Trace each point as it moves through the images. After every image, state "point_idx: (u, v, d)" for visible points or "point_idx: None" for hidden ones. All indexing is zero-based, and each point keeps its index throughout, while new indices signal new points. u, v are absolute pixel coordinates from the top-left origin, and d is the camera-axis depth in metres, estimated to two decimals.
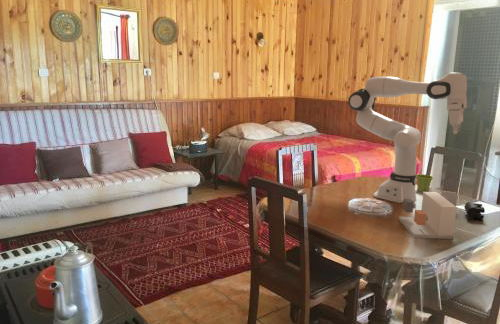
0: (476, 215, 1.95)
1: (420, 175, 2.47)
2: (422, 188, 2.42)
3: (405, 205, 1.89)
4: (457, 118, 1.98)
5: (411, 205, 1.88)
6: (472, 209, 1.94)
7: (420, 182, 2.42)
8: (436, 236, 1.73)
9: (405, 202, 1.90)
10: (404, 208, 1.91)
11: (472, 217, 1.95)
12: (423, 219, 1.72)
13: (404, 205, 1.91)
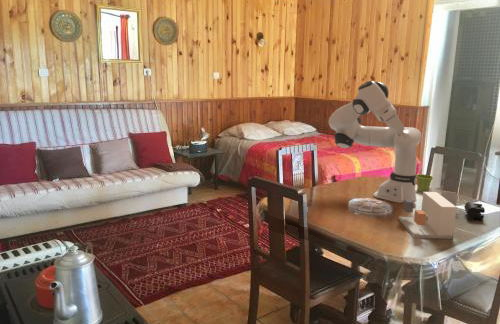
0: (476, 215, 1.95)
1: (420, 175, 2.47)
2: (422, 188, 2.42)
3: (405, 205, 1.89)
4: (400, 123, 1.77)
5: (411, 205, 1.88)
6: (472, 209, 1.94)
7: (420, 182, 2.42)
8: (436, 236, 1.73)
9: (405, 202, 1.90)
10: (404, 208, 1.91)
11: (472, 217, 1.95)
12: (423, 219, 1.72)
13: (404, 205, 1.91)
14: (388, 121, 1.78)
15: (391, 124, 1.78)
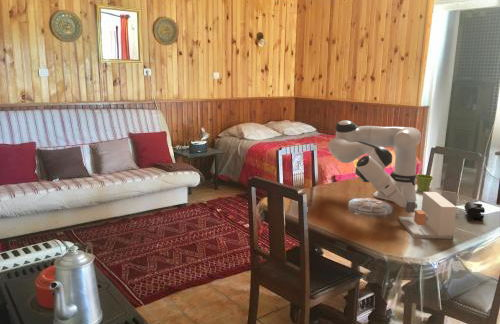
0: (476, 215, 1.95)
1: (420, 175, 2.47)
2: (422, 188, 2.42)
3: (407, 205, 1.89)
4: (402, 198, 1.80)
5: (413, 205, 1.88)
6: (472, 209, 1.94)
7: (420, 182, 2.42)
8: (436, 236, 1.73)
9: (407, 202, 1.90)
10: (406, 208, 1.91)
11: (472, 217, 1.95)
12: (423, 219, 1.72)
13: None
14: (390, 197, 1.81)
15: (394, 199, 1.81)
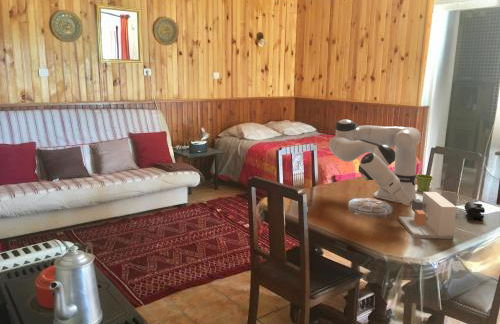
0: (476, 215, 1.95)
1: (420, 175, 2.47)
2: (422, 188, 2.42)
3: (414, 205, 1.89)
4: (407, 196, 1.79)
5: (420, 205, 1.88)
6: (472, 209, 1.94)
7: (420, 182, 2.42)
8: (436, 236, 1.73)
9: (414, 202, 1.90)
10: (413, 208, 1.91)
11: (472, 217, 1.95)
12: (423, 219, 1.72)
13: (413, 205, 1.91)
14: (395, 194, 1.80)
15: (398, 197, 1.80)
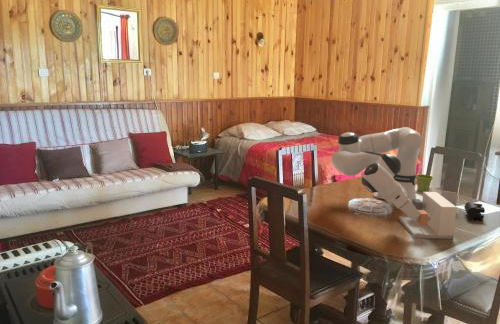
0: (476, 215, 1.95)
1: (420, 175, 2.47)
2: (422, 188, 2.42)
3: (414, 205, 1.89)
4: (415, 209, 1.64)
5: (420, 205, 1.88)
6: (472, 209, 1.94)
7: (420, 182, 2.42)
8: (436, 236, 1.73)
9: (414, 202, 1.90)
10: None
11: (472, 217, 1.95)
12: (426, 219, 1.72)
13: None
14: (402, 208, 1.66)
15: (405, 211, 1.65)
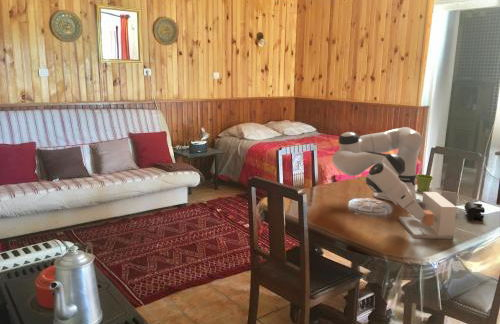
0: (476, 215, 1.95)
1: (420, 175, 2.47)
2: (422, 188, 2.42)
3: None
4: (420, 209, 1.64)
5: (420, 205, 1.88)
6: (472, 209, 1.94)
7: (420, 182, 2.42)
8: (436, 236, 1.73)
9: None
10: None
11: (472, 217, 1.95)
12: (431, 219, 1.72)
13: None
14: (407, 208, 1.65)
15: (411, 211, 1.65)
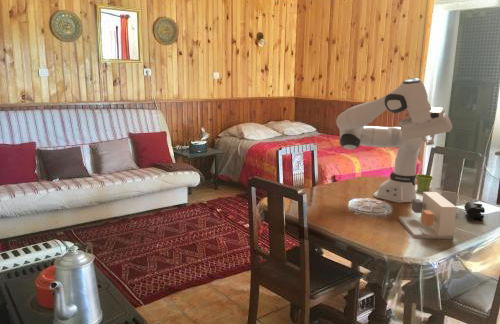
0: (476, 215, 1.95)
1: (420, 175, 2.47)
2: (422, 188, 2.42)
3: (414, 205, 1.89)
4: (450, 121, 1.72)
5: (420, 205, 1.88)
6: (472, 209, 1.94)
7: (420, 182, 2.42)
8: (436, 236, 1.73)
9: (414, 202, 1.90)
10: (413, 208, 1.91)
11: (472, 217, 1.95)
12: (431, 219, 1.72)
13: (413, 205, 1.91)
14: (444, 117, 1.69)
15: (447, 120, 1.69)
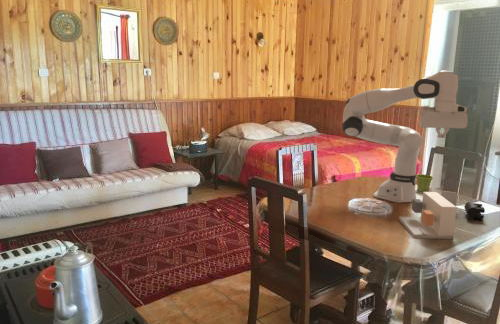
0: (476, 215, 1.95)
1: (420, 175, 2.47)
2: (422, 188, 2.42)
3: (414, 205, 1.89)
4: None
5: (420, 205, 1.88)
6: (472, 209, 1.94)
7: (420, 182, 2.42)
8: (436, 236, 1.73)
9: (414, 202, 1.90)
10: (413, 208, 1.91)
11: (472, 217, 1.95)
12: (431, 219, 1.72)
13: (413, 205, 1.91)
14: None
15: None
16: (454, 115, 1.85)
